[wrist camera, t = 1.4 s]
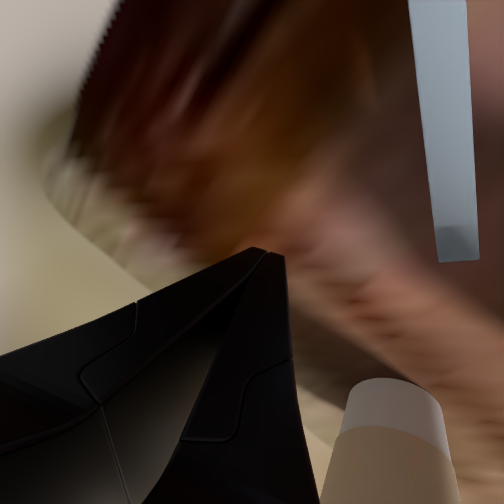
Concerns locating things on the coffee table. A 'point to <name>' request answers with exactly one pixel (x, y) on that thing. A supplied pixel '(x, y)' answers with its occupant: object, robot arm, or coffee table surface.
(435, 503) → the coffee cup
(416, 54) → the gate
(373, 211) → the coffee table surface
